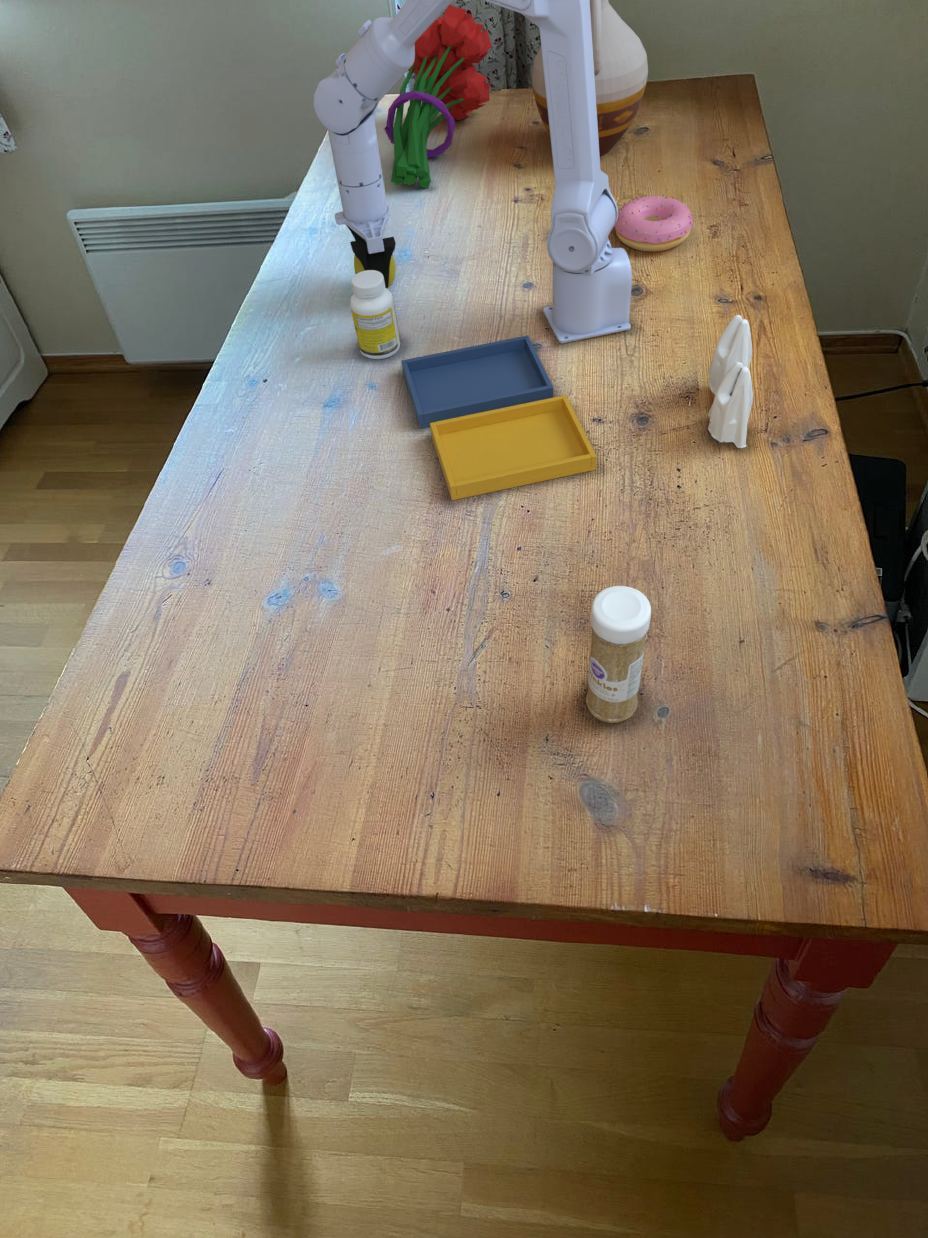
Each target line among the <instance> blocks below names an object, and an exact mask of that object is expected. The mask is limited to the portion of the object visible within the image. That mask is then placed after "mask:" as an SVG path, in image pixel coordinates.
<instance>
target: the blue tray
mask: <svg viewBox="0 0 928 1238" xmlns="http://www.w3.org/2000/svg"><path fill="white" fill-rule="evenodd" d="M400 362H401V367H402V374H403V377H404V381H405V384H406V388H407V391H408V394H409V397H410V400H411V404H412V407H413V410H414V413H415V416H416V420H417V423H418V426H419V429H425V428H430V423H433V422H437V421H442V420H447V419H452V418H457V417H461V416H466V415H471V414H476V413H481V412H486V411H491V410H495V409H500V408H505V407H510V406H515V405H520V404H524V403H529V402H534V401H539V400H544V399H549V398H554V385H553V383H552V382H551V380H550V378H549V376H548V373H547V371H546V369H545V367H544V365H543V363H542V360H541V358H540V357H539V355H538V352H537V351H536V349H535V347H534V344H533V343H532V340H531V338H530V336H529V335H528V334H527V335H523V336H517V337H511V338H505V339H502V340H497V341H491V342H487V343H481V344H477V345H471V346H466V347H461V348H457V349H452V350H447V351H442V352H441V351H440V352H436V353H432V354H426V355H422V356H417V357H412V358H407V359H402V360H400Z"/></svg>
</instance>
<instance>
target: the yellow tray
mask: <svg viewBox="0 0 928 1238" xmlns="http://www.w3.org/2000/svg"><path fill="white" fill-rule="evenodd" d="M429 428H430V434H431V439H432V442H433V446H434V448H435V451H436V455H437V459H438V461H439V464H440V465H439V466H440V468H441V471H442V474H443V478H444V480H445V483H446V487H447V490H448V494H449V496H450V500H451V501H456V500H461V499H466V498H470V497H475V496H480V495H484V494H488V493H493V492H498V491H502V490H507V489H512V488H516V487H517V488H518V487H521V486H527V485H531V484H535V483H540V482H546V481H550V480H555V479H559V478H564V477H568V476H572V475H578V474H582V473H588V472H592V471H596V469H597V454H596V452H595V450H594V448H593V445H592V444H591V442H590V440H589V438H588V436H587V434H586V432H585V430H584V428H583V426H582V423H581V421H580V420H579V418H578V416H577V414H576V412H575V410H574V407H573V405H572V404H571V402H570V400H569V398H568V395H566V394H564V395H559V396H553V398H549V399H544V400H539V401H534V402H529V403H524V404H520V405H515V406H510V407H505V408H500V409H495V410H491V411H486V412H481V413H476V414H471V415H466V416H461V417H457V418H452V419H447V420H442V421H437V422H433V423H430V427H429Z"/></svg>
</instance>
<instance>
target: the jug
mask: <svg viewBox="0 0 928 1238" xmlns="http://www.w3.org/2000/svg"><path fill="white" fill-rule="evenodd" d="M590 14H591V30H592V45H593V61H594V77H595V92H596V108H597V123H598V139H599V155H600V157H602V156H604V155H606V154H607V153H609V152H610V151H611V150H612V149H613V148H614V147H615V145H616V144H617V143H618V142H619V141H620V140H621V138H622V137H623V136H624V135H625V133H626V132H627V131H628V129H629V128H630V127H631V125H632V124H633V122H634V121H635V118H636V116H637V113H638V111H639V109H640V107H641V104H642V100H643V98H644V93H645V91H646V90H645V89H646V88H647V87H646V86H647V82H648V74H649V65H648V56H647V55H648V53H647V51H646V49H645V47H644V45H643V43H642V40H641V39H640V37H639V36H638V35H637V33H635V31H634V30H633V29H632V28H631V27H630V26H629V25H628V24H627V23H626V22H625V21H624V20H623V19H622V18H621V16H620V15H619V14H618V12H617V11H616V10H615V9H614V7H613V6H612V5H611V4H610V2H609V0H590ZM531 80H532V82H531V83H532V92H533V96H534V100H535V104H536V108H537V111H538V114H539V116H540V119H541V122H542V124H543V126H544V127H545V129H546V131H547V132H548V133H549V134H550V127H549V117H548V108H547V98H546V88H545V78H544V68H543V59H542V49H541V46H540V47H539V49H538V51H537V53H536V55H535V57H534V60H533V66H532V73H531Z"/></svg>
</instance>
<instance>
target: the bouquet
mask: <svg viewBox="0 0 928 1238" xmlns="http://www.w3.org/2000/svg"><path fill="white" fill-rule="evenodd" d="M483 27H484V25H483V24H480V23H476V21H475V19H474V17H473V13H472V12H469V13H467V9H466V8H462V7H457V6H454V5H453V4H450V5H449V6H448V8H447V9H446V10H445V11H444V14H443V16H442V17H441V16H439V17H438V18H437V19H436V20H435V21H434V22H433V23H432V24H431V26H430V27H429V28H428V29H427V30H426V31H425V32H424V33H423V34H422V35H421V36H420V37H419V38H418V39H417V40H416V41H415V60H414V63H413V65H412V66H411V67H410V68H409V69H408V70H407V72H408V73H407V74H406V76H405V79H404V80H403V83H402V85H401V86H400V91H399V95H398V96H397V97H396V98H395V99H394V100H393V101H392V103H391V104H390V106H389V108H388V111H387V116H386V122H385V123H386V124H385V125H386V126H385V127H384V132H385V134H386V136H387V138H388V140H389V142H390V143H391V144H393V156H394V158H393V166H392V172H391V177H390V182H391V183H393V184H395V185H403V184H404V185H406V186H407V185H408V186H411V185H413V184H415V183H416V180H417V181H418V184H419V186H420V188H422V189H429V187H430V185H431V182H432V179H431V173H430V167H429V161H428V159H430V158H433V157H437V156H440V155H441V154H442V153H445V152H446V150H447V149H449V147H450V146H452V144H453V137H454V131H455V127H456V126H455V125H456V121H461V120H464V119H466V118H468V117H470V115H469V114H470V113H473V112H474V111H476V110H479V109H480V108H482V107H483V106H486V104H485V103H488V102H489V101H490V88H491V82H486V80H487V79H488V77H487V76H485V75H483V74H481V73H479V72H478V71H477V70H476V65H473V64H480V62H482V60H484V58H485V57H486V56H487V55H488V54H489V53H490V52H491V51H492V50H491V48H492V47H493V45H492V42H491V39H490V35H489V30H488V28H486V29H485V30H482V29H483ZM413 74H414V75H415V77H416V78H415V81H414V85H413V87H412V88H413V89H412V90H411V91H406V89H407V88H408V87H407V86H408V84H409V83H410V80H411V78H412V76H413ZM408 102H409V105H408V107H407V112H406V114H405V117H404V108H405V104H406V103H408ZM444 118H445V119H446V133H447V134H446V138H445V139H444V142H442V143H441V144H440V145H438V146H436V147H435V148H433V149H429V148H428V149H427V145H428V139H429V136H430V133H431V132H432V130H433V129H435V127H437V126H438V124H439V123H441V121H442V120H444ZM403 119H404V120H403Z"/></svg>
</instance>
